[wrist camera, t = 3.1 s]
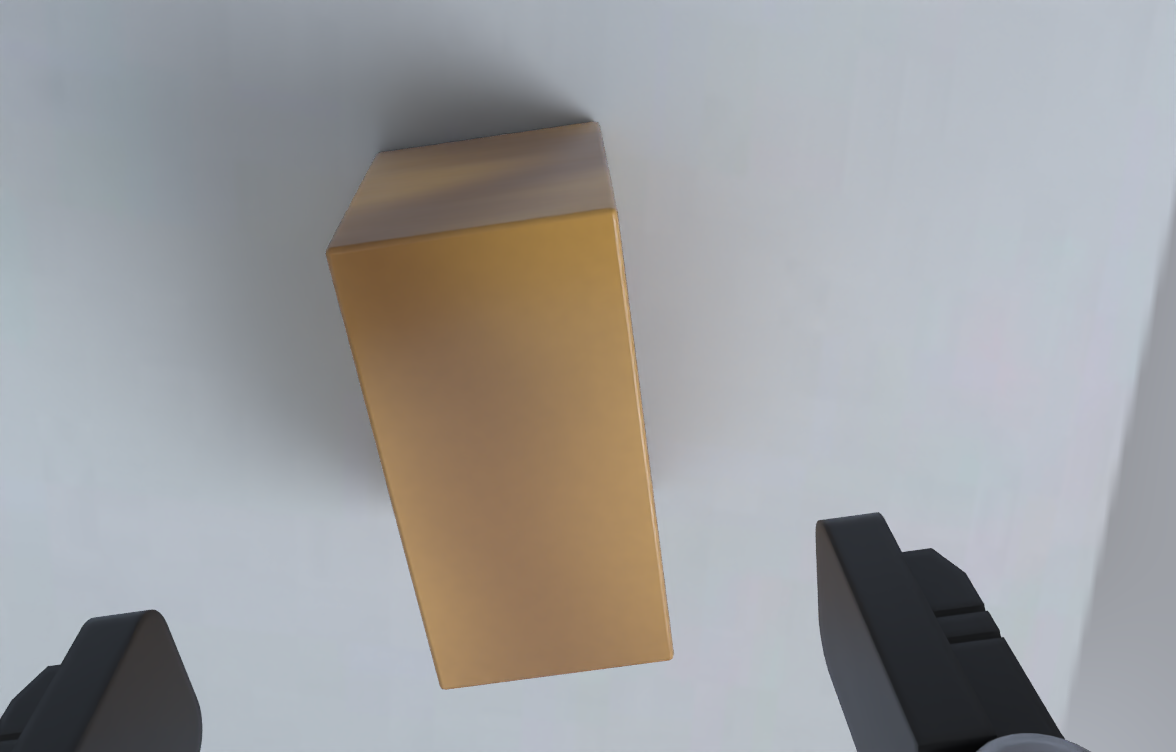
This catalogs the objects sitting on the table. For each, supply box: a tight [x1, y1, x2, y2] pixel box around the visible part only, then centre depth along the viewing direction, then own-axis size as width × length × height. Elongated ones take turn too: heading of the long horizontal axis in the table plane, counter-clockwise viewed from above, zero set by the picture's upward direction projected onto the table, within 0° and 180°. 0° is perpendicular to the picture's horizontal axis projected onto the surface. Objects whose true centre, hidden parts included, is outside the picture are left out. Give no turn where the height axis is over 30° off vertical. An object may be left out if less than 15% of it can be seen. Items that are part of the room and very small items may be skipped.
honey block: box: [325, 121, 674, 690], centre depth 18 cm, size 4×8×5 cm, turn 8°
